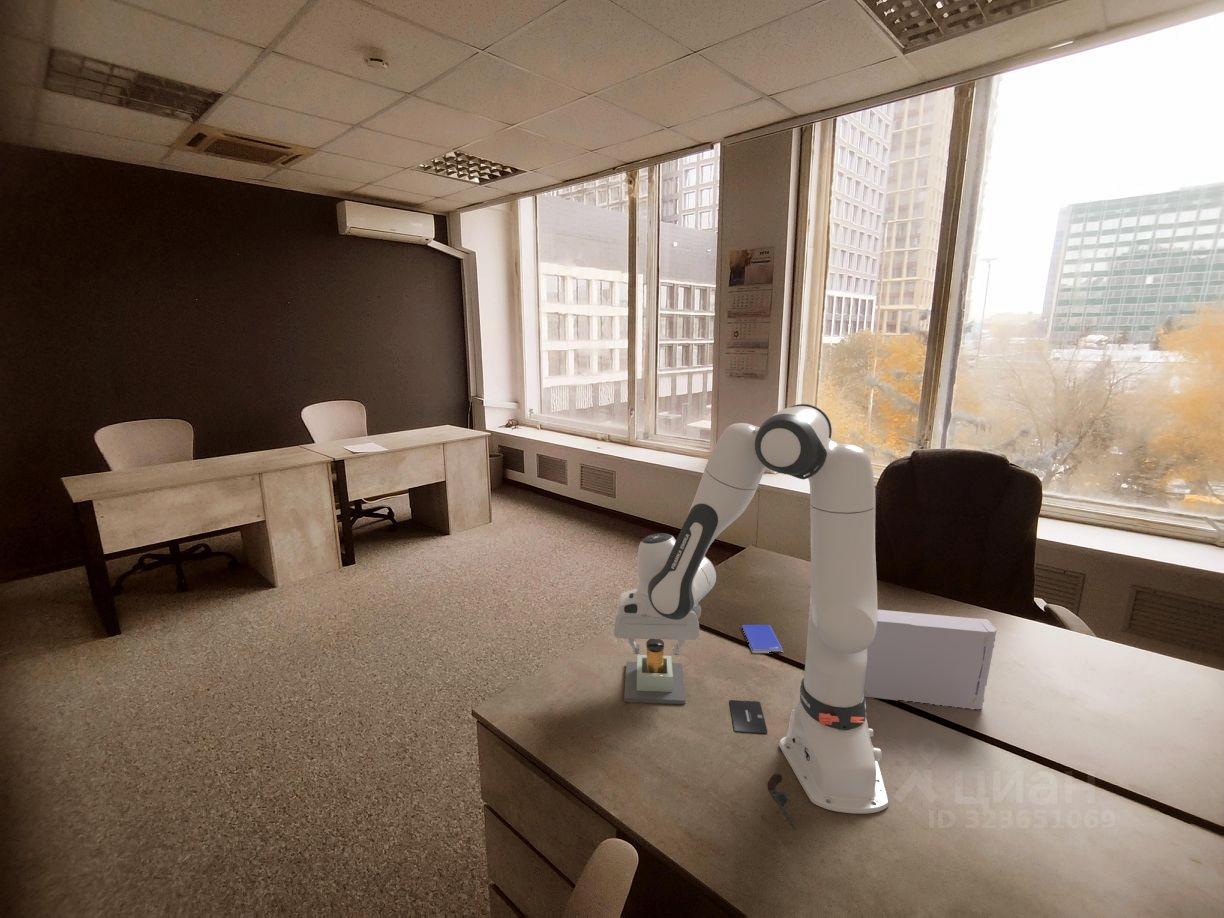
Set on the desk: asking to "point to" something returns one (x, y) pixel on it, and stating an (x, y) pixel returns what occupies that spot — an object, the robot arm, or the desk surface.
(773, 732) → the desk surface
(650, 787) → the desk surface
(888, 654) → the game console
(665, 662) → the docking plate
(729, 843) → the desk surface
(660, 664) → the bottle
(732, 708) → the solid state drive
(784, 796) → the dark curved piece
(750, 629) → the hard drive
